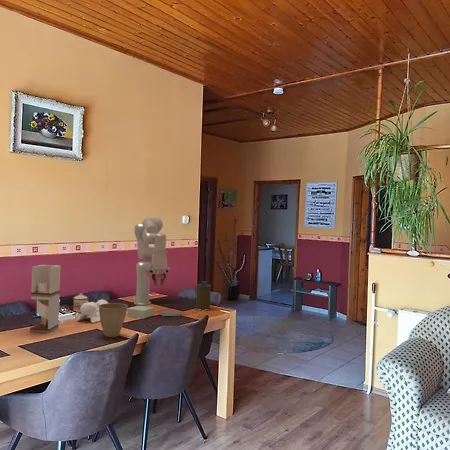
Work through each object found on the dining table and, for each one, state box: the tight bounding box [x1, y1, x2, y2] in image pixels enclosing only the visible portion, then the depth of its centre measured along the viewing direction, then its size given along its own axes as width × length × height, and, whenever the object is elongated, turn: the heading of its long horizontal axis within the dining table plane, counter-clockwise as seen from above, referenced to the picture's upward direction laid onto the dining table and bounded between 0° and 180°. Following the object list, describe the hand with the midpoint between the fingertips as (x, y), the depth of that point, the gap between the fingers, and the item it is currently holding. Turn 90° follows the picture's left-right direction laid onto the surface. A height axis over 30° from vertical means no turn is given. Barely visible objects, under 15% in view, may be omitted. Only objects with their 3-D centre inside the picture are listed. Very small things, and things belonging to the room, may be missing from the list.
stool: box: [153, 273, 165, 287], centre depth 281 cm, size 6×6×7 cm
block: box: [127, 305, 155, 319], centre depth 277 cm, size 12×12×5 cm
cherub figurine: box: [75, 299, 109, 324], centre depth 262 cm, size 13×12×20 cm
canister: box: [195, 280, 212, 311], centre depth 306 cm, size 11×10×20 cm
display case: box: [29, 264, 62, 334], centre depth 234 cm, size 11×11×35 cm
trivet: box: [158, 310, 183, 317], centre depth 284 cm, size 15×15×1 cm
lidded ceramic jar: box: [72, 293, 90, 313], centre depth 284 cm, size 12×9×12 cm
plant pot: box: [99, 302, 128, 338], centre depth 228 cm, size 15×15×16 cm
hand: (158, 279), depth 281 cm, fingers closed on stool, 6 cm apart
